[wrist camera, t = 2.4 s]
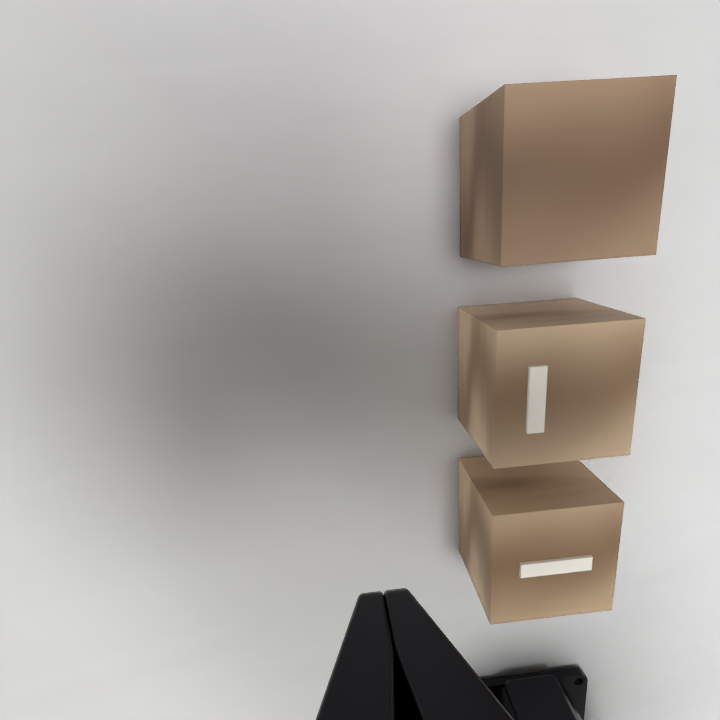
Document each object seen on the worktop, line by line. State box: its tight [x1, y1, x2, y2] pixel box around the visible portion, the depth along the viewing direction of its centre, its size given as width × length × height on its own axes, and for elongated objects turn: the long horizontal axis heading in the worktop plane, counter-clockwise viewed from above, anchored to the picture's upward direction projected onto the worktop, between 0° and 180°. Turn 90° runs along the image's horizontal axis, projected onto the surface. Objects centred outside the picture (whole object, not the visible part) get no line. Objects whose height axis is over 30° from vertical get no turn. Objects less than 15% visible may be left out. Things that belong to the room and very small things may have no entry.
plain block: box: [460, 75, 677, 267], centre depth 16 cm, size 5×5×4 cm
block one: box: [459, 456, 624, 624], centre depth 20 cm, size 5×5×5 cm
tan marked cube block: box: [458, 298, 645, 469], centre depth 18 cm, size 5×5×5 cm
